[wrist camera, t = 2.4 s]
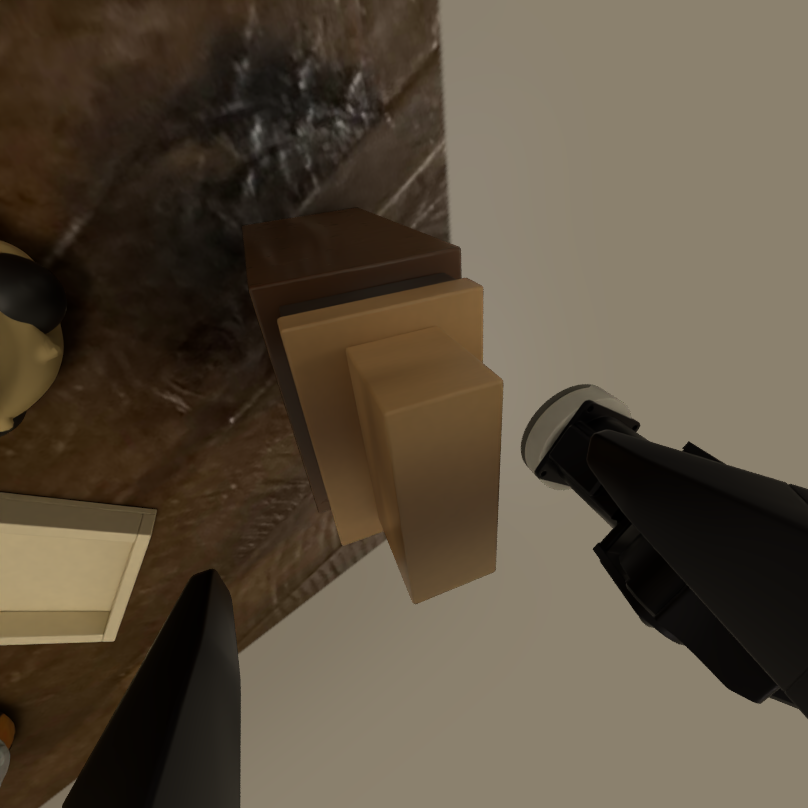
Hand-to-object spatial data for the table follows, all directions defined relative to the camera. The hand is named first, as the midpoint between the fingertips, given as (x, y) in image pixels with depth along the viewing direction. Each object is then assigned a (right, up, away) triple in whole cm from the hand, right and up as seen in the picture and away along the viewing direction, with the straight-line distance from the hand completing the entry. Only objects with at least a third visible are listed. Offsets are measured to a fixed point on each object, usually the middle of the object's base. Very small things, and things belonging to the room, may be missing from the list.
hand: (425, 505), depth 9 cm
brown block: (-5, +7, +10) cm, 13 cm away
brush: (-1, +3, +2) cm, 3 cm away
